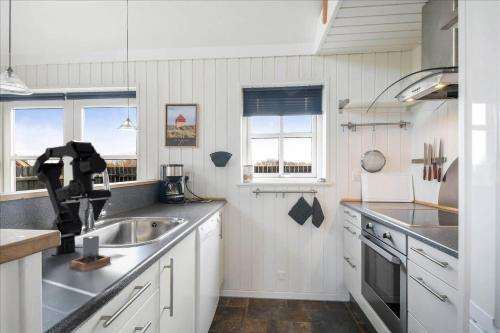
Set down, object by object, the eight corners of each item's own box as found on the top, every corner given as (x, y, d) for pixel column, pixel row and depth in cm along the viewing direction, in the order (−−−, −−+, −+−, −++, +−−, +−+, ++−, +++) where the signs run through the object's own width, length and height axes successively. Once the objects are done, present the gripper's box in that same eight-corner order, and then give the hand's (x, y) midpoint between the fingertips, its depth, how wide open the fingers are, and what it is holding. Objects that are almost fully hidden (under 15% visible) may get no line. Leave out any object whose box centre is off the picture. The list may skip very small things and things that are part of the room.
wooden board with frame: (64, 269, 82) (64, 260, 82) (109, 253, 96) (109, 246, 96) (88, 275, 77) (88, 266, 77) (132, 258, 91) (132, 251, 91)
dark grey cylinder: (80, 264, 83) (81, 237, 84) (96, 261, 86) (96, 234, 87) (84, 268, 80) (85, 239, 81) (100, 264, 83) (100, 237, 84)
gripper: (38, 179, 86) (41, 227, 85) (82, 173, 81) (85, 223, 80) (70, 179, 97) (73, 221, 96) (110, 173, 92) (114, 217, 91)
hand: (85, 221), depth 90 cm, fingers open, 9 cm apart
